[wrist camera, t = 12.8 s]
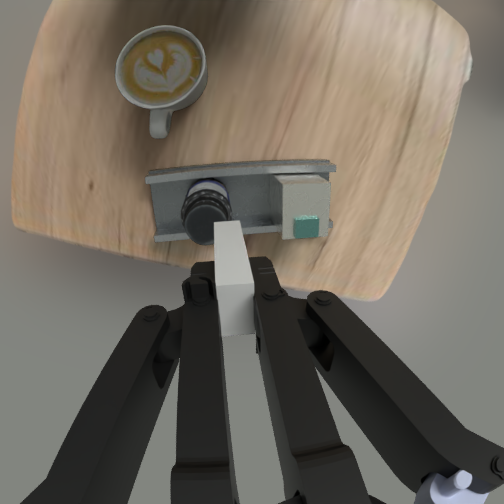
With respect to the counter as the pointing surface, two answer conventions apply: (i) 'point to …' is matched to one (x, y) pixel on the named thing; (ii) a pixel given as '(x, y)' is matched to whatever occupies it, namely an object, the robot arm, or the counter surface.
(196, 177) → the rail
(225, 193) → the pill bottle
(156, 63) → the coffee mug
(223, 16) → the counter surface
